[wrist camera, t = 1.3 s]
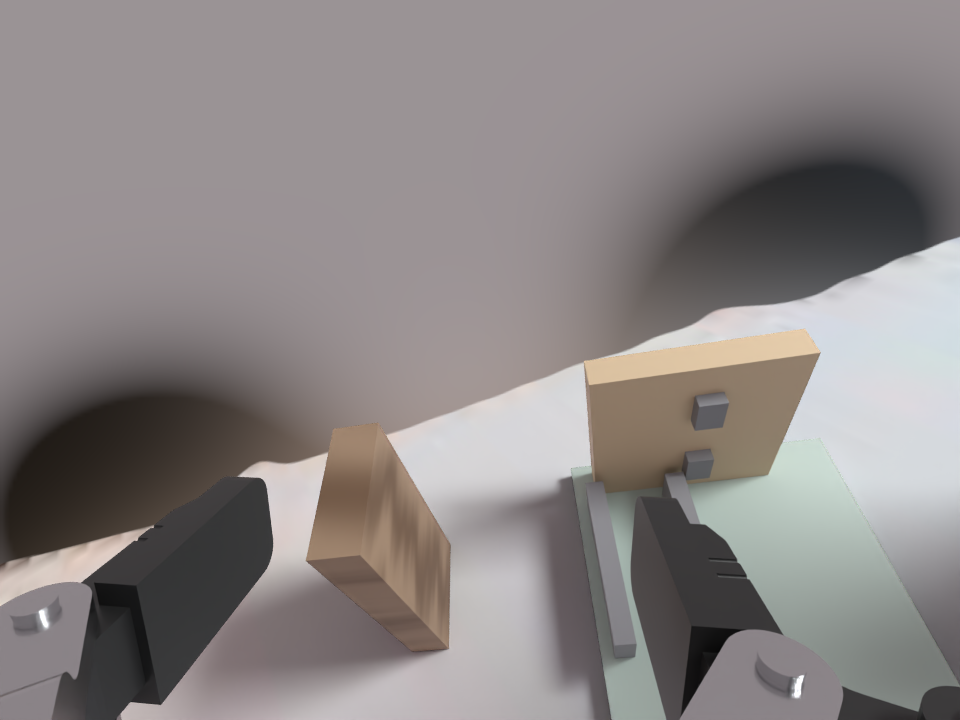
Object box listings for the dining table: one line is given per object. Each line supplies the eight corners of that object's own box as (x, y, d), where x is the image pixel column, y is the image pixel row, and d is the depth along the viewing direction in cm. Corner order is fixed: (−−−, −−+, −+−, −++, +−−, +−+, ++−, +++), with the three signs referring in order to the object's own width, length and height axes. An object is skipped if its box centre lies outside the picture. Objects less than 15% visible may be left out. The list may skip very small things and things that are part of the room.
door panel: (448, 648, 34) (360, 555, 22) (397, 652, 34) (283, 563, 23) (450, 544, 38) (378, 422, 27) (405, 549, 39) (314, 431, 27)
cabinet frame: (969, 727, 26) (1189, 664, 16) (615, 745, 29) (614, 700, 19) (815, 446, 38) (887, 308, 28) (571, 475, 40) (556, 357, 30)
